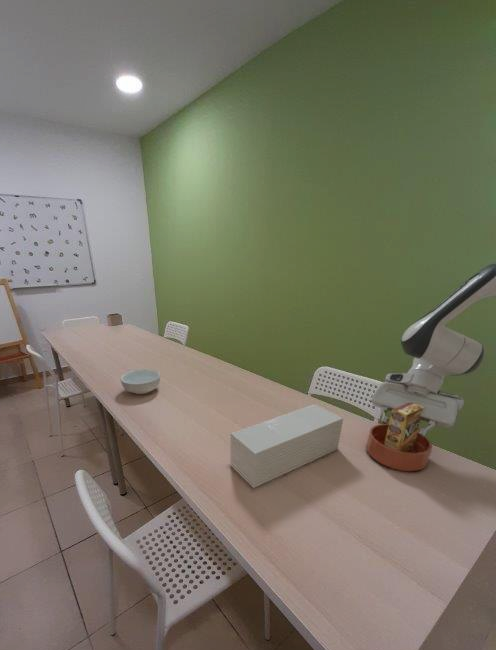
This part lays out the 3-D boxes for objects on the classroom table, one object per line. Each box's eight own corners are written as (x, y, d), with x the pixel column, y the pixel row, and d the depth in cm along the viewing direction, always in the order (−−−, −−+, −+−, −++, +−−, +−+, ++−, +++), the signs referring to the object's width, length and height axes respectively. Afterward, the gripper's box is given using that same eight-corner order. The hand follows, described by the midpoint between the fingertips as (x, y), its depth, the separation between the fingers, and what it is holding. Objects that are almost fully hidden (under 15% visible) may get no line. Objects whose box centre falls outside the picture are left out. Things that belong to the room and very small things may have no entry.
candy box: (394, 463, 83) (408, 415, 77) (380, 455, 87) (391, 408, 81) (412, 453, 87) (426, 406, 81) (398, 445, 91) (410, 400, 84)
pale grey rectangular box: (253, 488, 77) (255, 453, 72) (230, 465, 85) (230, 433, 81) (337, 449, 91) (343, 418, 87) (310, 432, 99) (314, 403, 95)
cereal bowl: (126, 402, 124) (124, 386, 121) (119, 387, 138) (117, 373, 135) (166, 393, 130) (164, 378, 127) (155, 380, 144) (154, 366, 141)
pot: (432, 455, 87) (438, 437, 85) (417, 480, 78) (423, 461, 75) (376, 434, 97) (380, 418, 95) (357, 455, 88) (361, 438, 86)
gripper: (465, 402, 81) (446, 447, 79) (383, 382, 95) (365, 420, 93) (467, 392, 76) (448, 440, 74) (381, 372, 90) (362, 412, 88)
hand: (401, 429), depth 83 cm, fingers open, 8 cm apart
